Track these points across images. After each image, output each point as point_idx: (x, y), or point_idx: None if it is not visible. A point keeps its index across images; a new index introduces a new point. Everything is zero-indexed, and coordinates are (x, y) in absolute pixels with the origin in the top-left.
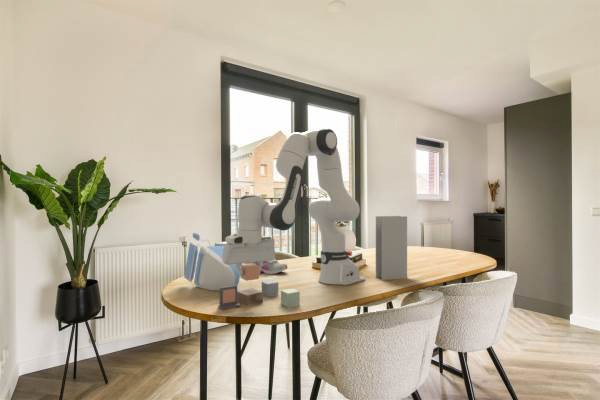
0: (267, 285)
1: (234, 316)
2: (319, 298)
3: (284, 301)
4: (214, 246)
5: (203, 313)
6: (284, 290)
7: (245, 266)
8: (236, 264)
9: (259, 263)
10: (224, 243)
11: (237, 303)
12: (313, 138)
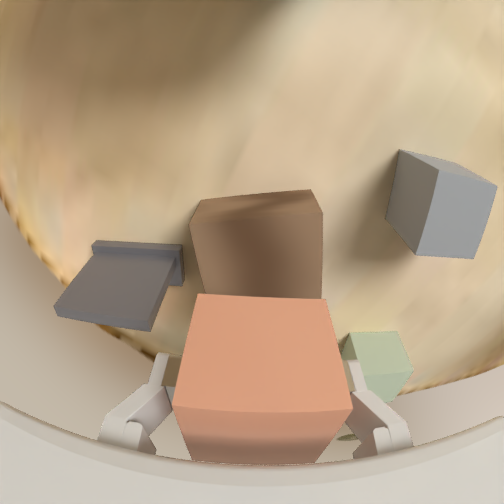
0: (412, 250)
1: (139, 345)
2: (464, 339)
3: None
4: None
5: (50, 267)
6: (370, 380)
7: (192, 452)
8: (104, 432)
9: (356, 453)
10: None
11: (176, 269)
12: None
